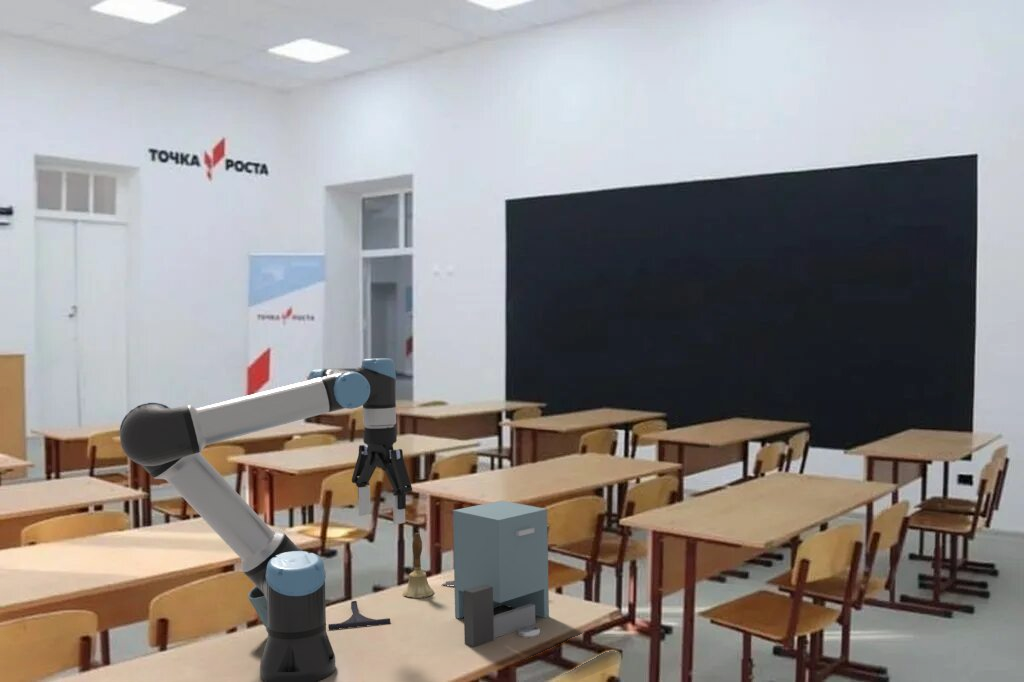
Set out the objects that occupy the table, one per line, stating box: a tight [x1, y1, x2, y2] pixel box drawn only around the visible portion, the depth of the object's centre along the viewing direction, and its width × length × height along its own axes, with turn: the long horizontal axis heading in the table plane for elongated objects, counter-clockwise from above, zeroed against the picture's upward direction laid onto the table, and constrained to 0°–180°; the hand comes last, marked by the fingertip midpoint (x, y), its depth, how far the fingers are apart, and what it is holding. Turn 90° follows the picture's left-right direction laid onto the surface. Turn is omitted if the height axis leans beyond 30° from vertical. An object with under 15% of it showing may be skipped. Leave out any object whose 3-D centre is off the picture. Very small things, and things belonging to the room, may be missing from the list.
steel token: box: [517, 625, 541, 638], centre depth 205 cm, size 5×5×1 cm
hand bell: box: [402, 532, 435, 599], centre depth 237 cm, size 8×8×16 cm
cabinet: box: [452, 500, 550, 620], centre depth 217 cm, size 16×17×26 cm
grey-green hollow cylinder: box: [247, 585, 268, 633], centre depth 207 cm, size 10×10×12 cm
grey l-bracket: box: [463, 584, 536, 648], centre depth 205 cm, size 20×3×12 cm, turn 134°
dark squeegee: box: [327, 600, 391, 631], centre depth 219 cm, size 14×15×3 cm
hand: (381, 519), depth 206 cm, fingers open, 13 cm apart
